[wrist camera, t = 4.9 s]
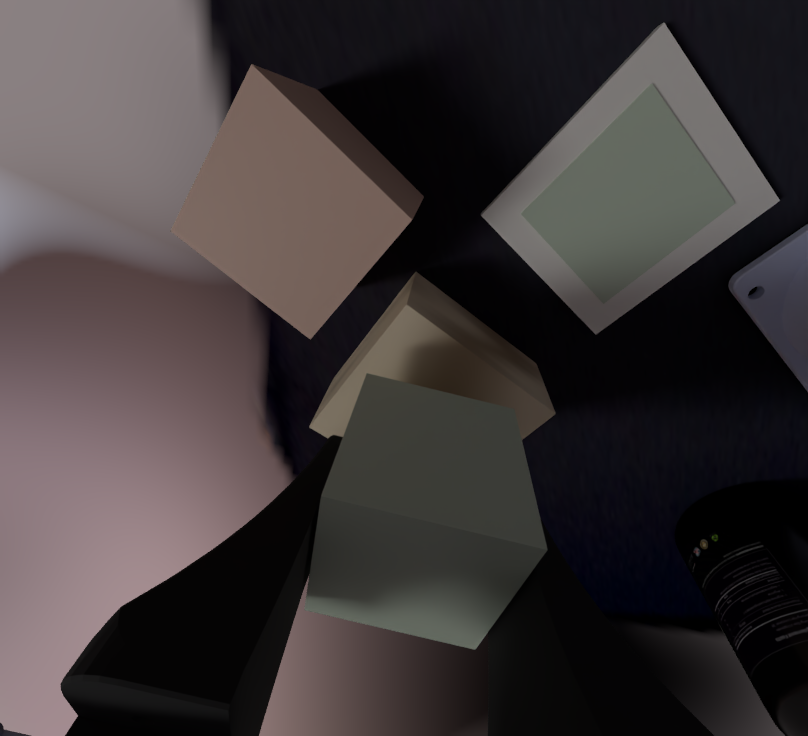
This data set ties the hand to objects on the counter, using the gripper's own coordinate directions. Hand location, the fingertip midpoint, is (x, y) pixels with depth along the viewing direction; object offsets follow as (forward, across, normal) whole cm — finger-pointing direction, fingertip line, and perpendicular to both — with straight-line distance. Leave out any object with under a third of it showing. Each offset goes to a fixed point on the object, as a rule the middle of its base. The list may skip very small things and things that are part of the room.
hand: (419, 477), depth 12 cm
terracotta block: (+7, +6, -6) cm, 11 cm away
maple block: (+7, 0, 0) cm, 7 cm away
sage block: (+2, 0, 0) cm, 2 cm away
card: (+7, -5, -9) cm, 12 cm away
